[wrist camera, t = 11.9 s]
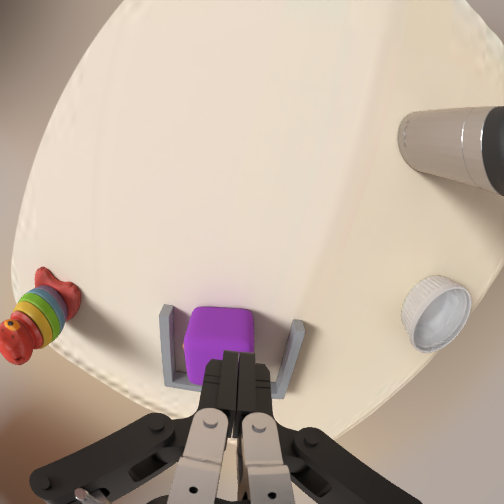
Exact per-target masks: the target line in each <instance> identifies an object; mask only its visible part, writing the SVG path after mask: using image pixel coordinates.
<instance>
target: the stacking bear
mask: <svg viewBox="0 0 504 504" xmlns="http://www.w3.org/2000/svg"><path fill="white" fill-rule="evenodd" d="M80 302H81V294H80V291H79V290H78V288H77V286H76V285H74V284H73V283H71V282H62V281H59V280H57V279H56V278H55V277H54V276H53V275H52V274H51V272H50V271H49V270H48V269H46V268H44V267H41V268H39V269H38V270H37V271H36V274H35V288H34V289H32V290H30V291H29V292H27V293H26V294H24V295H23V296H22V298H21V299H20V300H19V302H18V304H17V305H16V307H15V309H14V310H13V313H12V315H11V319H8V320H5V321H4V322H2V323H1V324H0V352H1V353H2V355H3V356H4V357H5V358H6V360H7V361H9V362H10V363H12V364H15V365H22V364H24V363H26V362H27V361H28V360H29V359H30V357H31V355H32V352H33V349H42V348H44V347H45V346H47V345H48V344H49V343H51V342H52V341H54V340H55V339H56V338H57V337H58V335H59V334H60V333H61V331H62V329H63V327H64V324H65V322H66V321H68V320H70V319H71V318H72V317H73V316H74V315H75V314H76V313H77V311H78V309H79V307H80Z"/></svg>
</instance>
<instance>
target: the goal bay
mask: <svg viewBox="0 0 504 504" xmlns="http://www.w3.org/2000/svg"><path fill="white" fill-rule="evenodd" d="M159 323H160V339H161V352H162V363H163V374H164V383H165V386H167V387H173V388H179V389H185V390H191V391H198V392H201V390H202V385H196V384H193V383H191V382H190V381H189V379H188V375H187V373H183V372H177V371H175V353H174V323H173V306H172V305H165V304H164V306H163V308H162V310H161V312H160V314H159ZM304 334H305V329H304V325H303V321H302V320H293V322H292V326H291V330H290V334H289V338H288V341H287V345H286V349H285V352H284V356H283V360H282V363H281V367H280V370H279V374H278V377H277V381H276V382H271V396H272V399H284V396H285V393H286V390H287V388H288V385H289V382H290V379H291V376H292V373H293V370H294V367H295V364H296V360H297V357H298V354H299V351H300V348H301V344H302V341H303V338H304Z"/></svg>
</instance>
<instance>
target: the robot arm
mask: <svg viewBox="0 0 504 504" xmlns="http://www.w3.org/2000/svg"><path fill="white" fill-rule="evenodd" d="M398 145H399V149H400V152H401V154H402V156H403V158H404V160H405V161H406V163H407V164H408V165H409V166H410V167H411V168H413V169H415V170H417V171H420V172H424V173H428V174H432V175H435V176H439V177H443V178H447V179H451V180H454V181H458V182H462V183H465V184H468V185H472V186H475V187H478V188H481V189H485V190H488V191H491V192H494V193H497V194H500V195H502V196H504V106H491V107H466V108H451V109H439V110H428V111H420V112H413V113H411V114H409V115H407V116H406V117H405V118H404V119H403V121H402V122H401V125H400V127H399V131H398ZM238 356H239V360H238ZM232 428H233V436H232V438H237V449H236V462H237V480H238V492H237V501H234V502H230V501H226V500H223V499H219V498H216V496H217V490H218V484H219V478H220V472H221V467H222V461H223V455H224V451H225V450H226V445H227V439H228V438H231V434H232ZM176 462H178V465H177V469H176V472H175V476H174V480H173V483H172V487H171V490H170V494H169V495H165V496H161V497H158V498H156V499H154V500H151V501H150V502H148V503H147V504H295V500H294V494H293V489H292V484H291V481H292V482H293V483H295V485H297V486H298V487H299V488H300V489H301V490H302V491H303V492H305V493H306V494H307V495H308V496H309V497H310V498H312V499H313V500H314V501H316V502H317V503H318V504H422V503H421V502H420V501H419V500H418V499H416V498H415V497H413V496H411V495H410V494H408V493H407V492H405V491H404V490H402V489H400V488H399V487H397V486H396V485H394V484H393V483H391V482H390V481H388V480H386V479H385V478H384V477H382V476H381V475H380V474H378V473H377V472H375V471H374V470H372V469H371V468H370V467H368V466H367V465H365V464H364V463H363V462H361V461H360V460H359V459H357V458H356V457H355V456H353V455H352V454H351V453H349V452H348V451H347V450H345V449H344V448H343V447H342V446H340V445H339V444H338V443H336V442H335V441H334V440H333V439H331V438H330V437H329V436H328V435H326V434H325V433H324V432H323V431H321V430H319V429H317V428H313V427H307V428H303V429H301V430H299V431H296V430H292V429H288V428H285V427H283V426H281V425H280V424H279V423H277V421H276V420H275V419H274V417H273V411H272V396H271V382H270V372H269V370H268V368H267V367H266V365H265V364H255V353H250V352H240V353H239V351H230V350H224V352H223V360H217V359H211V360H210V361H209V362H208V364H207V365H206V367H205V373H204V378H203V384H202V390H201V395H200V401H199V406H198V409H197V411H196V412H195V413H194V414H193V415H192V416H190V417H188V418H184V419H175V420H171V419H170V418H169V417H168V416H166V415H165V414H162V413H150V414H147V415H145V416H144V417H142V418H140V419H138V420H137V421H135V422H133V423H131V424H129V425H128V426H126V427H124V428H122V429H120V430H118V431H116V432H115V433H113V434H111V435H109V436H107V437H105V438H103V439H101V440H99V441H97V442H95V443H93V444H91V445H89V446H87V447H85V448H83V449H81V450H79V451H77V452H75V453H73V454H71V455H69V456H66V457H64V458H62V459H60V460H57V461H55V462H53V463H50V464H48V465H46V466H43V467H41V468H38V469H36V470H35V471H33V473H32V474H31V475H30V486H31V488H32V490H33V492H34V493H35V494H36V495H37V496H39V497H40V498H42V499H43V500H44V501H45V502H46V503H48V504H112V503H111V502H113V501H115V500H117V499H118V498H120V497H122V496H124V495H126V494H127V493H129V492H131V491H132V490H134V489H136V488H138V487H139V486H141V485H143V484H144V483H146V482H147V481H149V480H151V479H152V478H154V477H155V476H157V475H158V474H160V473H162V472H163V471H164V470H166V469H168V468H169V467H171V466H172V465H173V464H175V463H176Z"/></svg>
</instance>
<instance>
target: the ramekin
mask: <svg viewBox="0 0 504 504" xmlns="http://www.w3.org/2000/svg"><path fill="white" fill-rule="evenodd" d="M471 304H472V303H471V296H470V293H469V292H468V290H467V289H466V288H465V287H463V286H462V285H460V284H457V283H454V282H453V281H451V280H449V279H448V278H446V277H443V276H438V275H436V276H430V277H427V278H425V279H423V280H421V281H420V282H418V283H417V284H416V285H415V286H414V287H413V288H412V289H411V290H410V292H409V293H408V295H407V296H406V298H405V301H404V303H403V307H402V314H401V316H402V317H401V318H402V323H403V325H404V327H405V329H406V331H407V333H408V335H409V338H410V341H411V343H412V345H413V346H414V347H415V349H417V350H418V351H420V352H423V353H431V352H435V351H437V350H440V349H442V348H443V347H445V346H446V345H448V344H449V343H450V342H451V341H452V340H454V339H455V337H456V336H457V335H458V334H459V333H460V332H461V330H462V329H463V327H464V326H465V324H466V322H467V320H468V317H469V314H470V311H471Z"/></svg>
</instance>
